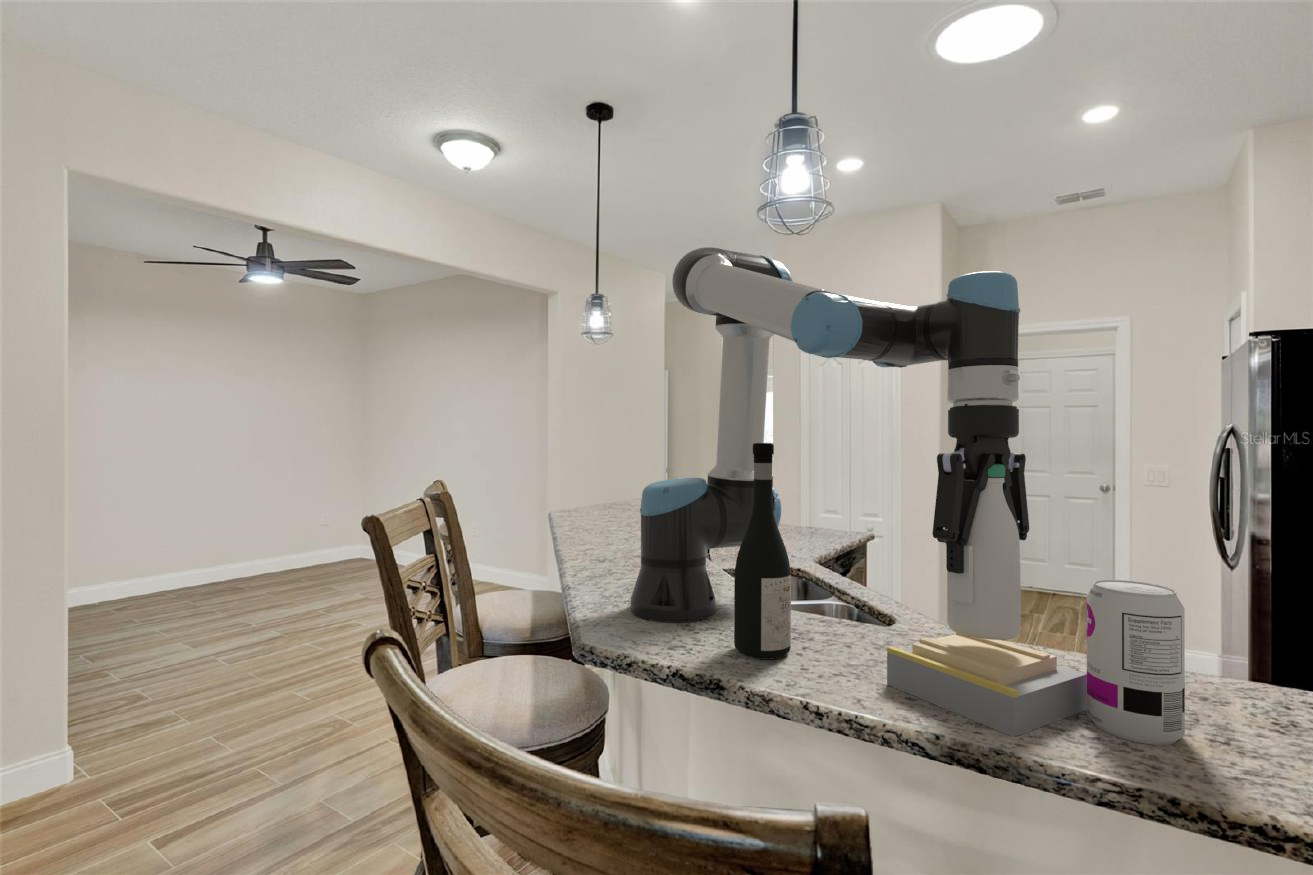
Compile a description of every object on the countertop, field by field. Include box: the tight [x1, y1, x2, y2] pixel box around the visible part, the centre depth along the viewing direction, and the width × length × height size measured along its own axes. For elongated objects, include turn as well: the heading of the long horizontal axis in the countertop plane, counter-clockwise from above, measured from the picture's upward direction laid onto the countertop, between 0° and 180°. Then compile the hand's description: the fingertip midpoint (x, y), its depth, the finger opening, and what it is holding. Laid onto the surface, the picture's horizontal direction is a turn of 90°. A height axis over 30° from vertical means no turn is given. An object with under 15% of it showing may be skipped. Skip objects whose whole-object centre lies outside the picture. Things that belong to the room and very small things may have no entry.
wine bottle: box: [733, 442, 792, 660], centre depth 90 cm, size 8×8×30 cm
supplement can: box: [1086, 579, 1186, 746], centre depth 66 cm, size 8×8×15 cm
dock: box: [886, 632, 1087, 738], centre depth 75 cm, size 16×14×6 cm
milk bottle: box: [946, 464, 1021, 641], centre depth 75 cm, size 8×8×20 cm
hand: (982, 596), depth 75 cm, fingers closed on milk bottle, 8 cm apart
